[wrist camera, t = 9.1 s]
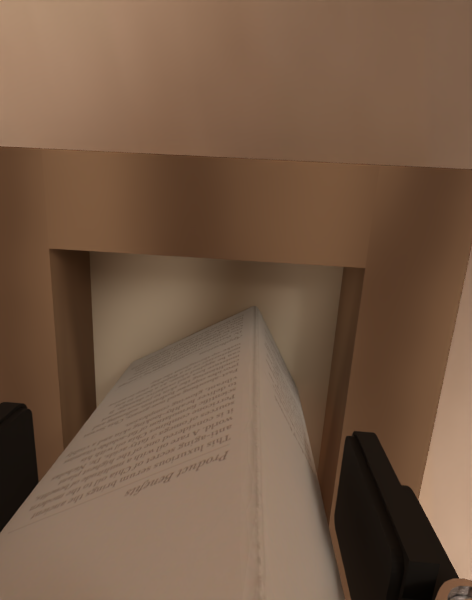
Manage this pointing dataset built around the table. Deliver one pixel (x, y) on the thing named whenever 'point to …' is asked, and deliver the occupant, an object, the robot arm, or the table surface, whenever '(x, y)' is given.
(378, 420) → the socket block
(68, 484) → the skincare box
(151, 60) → the table surface
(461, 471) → the table surface
